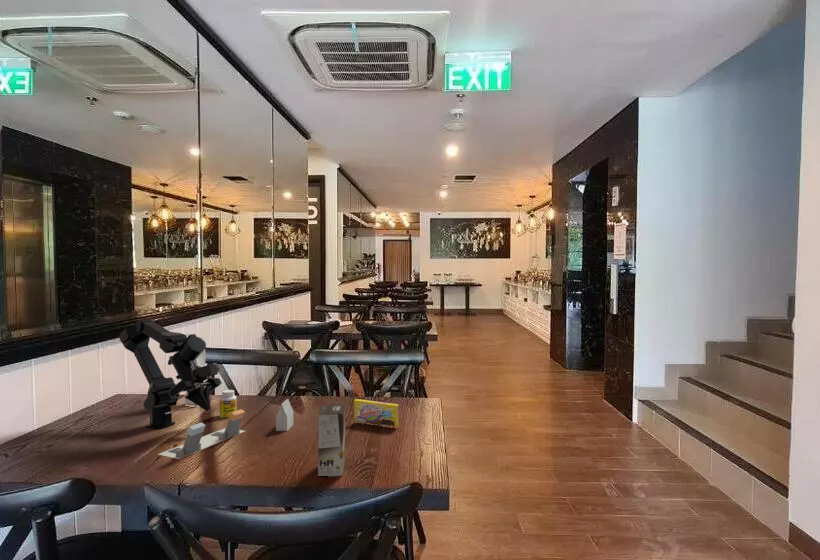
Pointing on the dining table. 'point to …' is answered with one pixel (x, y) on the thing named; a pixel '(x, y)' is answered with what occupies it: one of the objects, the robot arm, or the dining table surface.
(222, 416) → the supplement bottle
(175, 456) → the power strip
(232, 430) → the lever
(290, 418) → the grey house block
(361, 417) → the candy box
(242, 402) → the dining table surface
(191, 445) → the lever
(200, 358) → the skyscraper
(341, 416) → the coffee box
